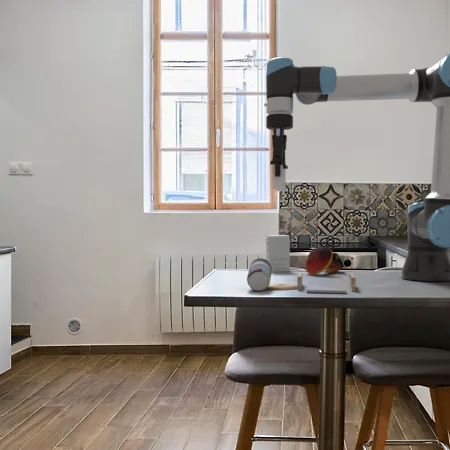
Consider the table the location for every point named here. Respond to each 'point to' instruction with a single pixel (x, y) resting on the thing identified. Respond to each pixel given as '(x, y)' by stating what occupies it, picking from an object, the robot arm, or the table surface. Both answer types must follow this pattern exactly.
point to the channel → (351, 281)
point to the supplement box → (278, 252)
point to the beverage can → (259, 274)
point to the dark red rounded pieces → (323, 261)
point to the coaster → (281, 287)
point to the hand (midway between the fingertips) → (279, 190)
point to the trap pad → (326, 292)
